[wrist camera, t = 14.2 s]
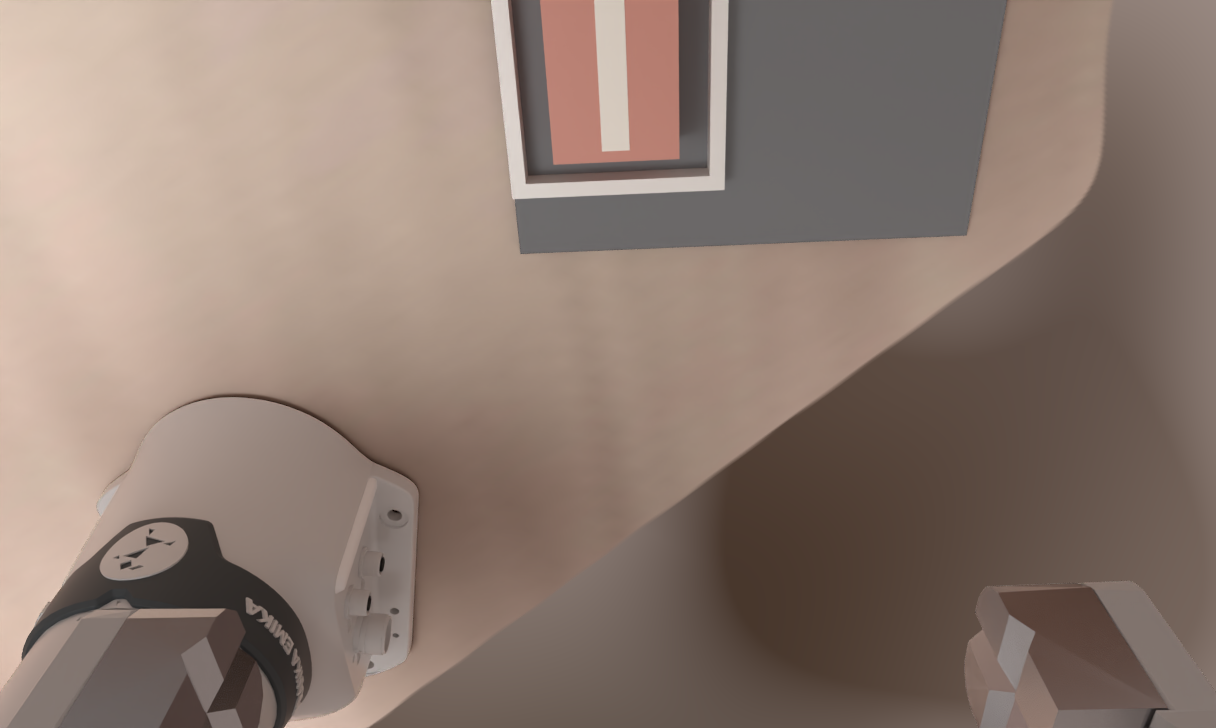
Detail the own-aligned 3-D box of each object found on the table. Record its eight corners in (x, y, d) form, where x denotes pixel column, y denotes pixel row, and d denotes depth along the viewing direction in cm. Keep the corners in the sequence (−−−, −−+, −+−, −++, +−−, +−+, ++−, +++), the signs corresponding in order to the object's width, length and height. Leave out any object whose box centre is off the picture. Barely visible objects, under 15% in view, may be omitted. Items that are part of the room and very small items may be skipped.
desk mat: (963, 232, 44) (966, 235, 43) (521, 250, 44) (520, 253, 44) (1047, -261, 33) (1052, -262, 33) (470, -228, 34) (469, -228, 34)
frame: (721, 181, 42) (724, 190, 41) (514, 190, 42) (512, 199, 41) (728, -143, 35) (731, -143, 34) (481, -130, 35) (477, -129, 34)
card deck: (540, -70, 37) (534, -63, 34) (673, -77, 36) (678, -71, 34) (557, 144, 41) (553, 165, 39) (675, 138, 41) (679, 159, 38)
